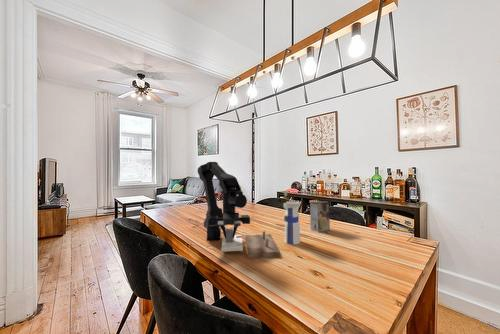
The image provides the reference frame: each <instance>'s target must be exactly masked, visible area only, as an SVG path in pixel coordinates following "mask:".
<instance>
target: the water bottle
mask: <svg viewBox="0 0 500 334" xmlns="http://www.w3.org/2000/svg"><path fill="white" fill-rule="evenodd" d="M288 193H289V191H287V190H285V192H283V194H284V197H288ZM299 207H301V203H300V201H293V200H289V201H288V200H287V201H286V202H284V203H283V209H284V210H285V212H284V216H283V219H284V220H283V221H284V222H285V223H284V243H286V244H288V245H291V246H292V245H293V246H294V245H299V244H301V234H300V233H301V231H300V229H301V228H300V227H301V226H300V222H299V221H300V220H299V217H300V213H299Z"/></svg>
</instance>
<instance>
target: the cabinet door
mask: <svg viewBox="0 0 500 334" xmlns="http://www.w3.org/2000/svg"><path fill="white" fill-rule="evenodd" d="M221 242H222V243H221V252H244V244H243V235H242V234H235V236H234V239H233V228H226V239H225V236H224V234H223V237H222V241H221Z"/></svg>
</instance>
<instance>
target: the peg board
mask: <svg viewBox="0 0 500 334" xmlns="http://www.w3.org/2000/svg"><path fill="white" fill-rule="evenodd" d="M244 238H245V244H246V245H245V246H246V254H247V258H248V259H251V258H255V259H256V258H257V259H258V258H277V257H278V258H279V257H280V255H281V254H280V250H279V247H277V244H276V242H275V240H274V238H273V236H272V234H270V233H269V234H268V233H267V234H266V231H265V230H264V231H262V234H245V237H244Z"/></svg>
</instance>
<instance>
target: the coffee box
mask: <svg viewBox="0 0 500 334" xmlns="http://www.w3.org/2000/svg"><path fill="white" fill-rule="evenodd" d="M309 208H310V209H309V210H310V211H309V213H310V215H309V217H310V223H309V224H310V231H314V232H316V233H321V232H322V233H323V232H326V231H330V230H331V227H330V225H331V222H330V221H331V220H330V215H331V214H330V202H329V201H324V200H317V201H316V200H315V201H310V202H309Z"/></svg>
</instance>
